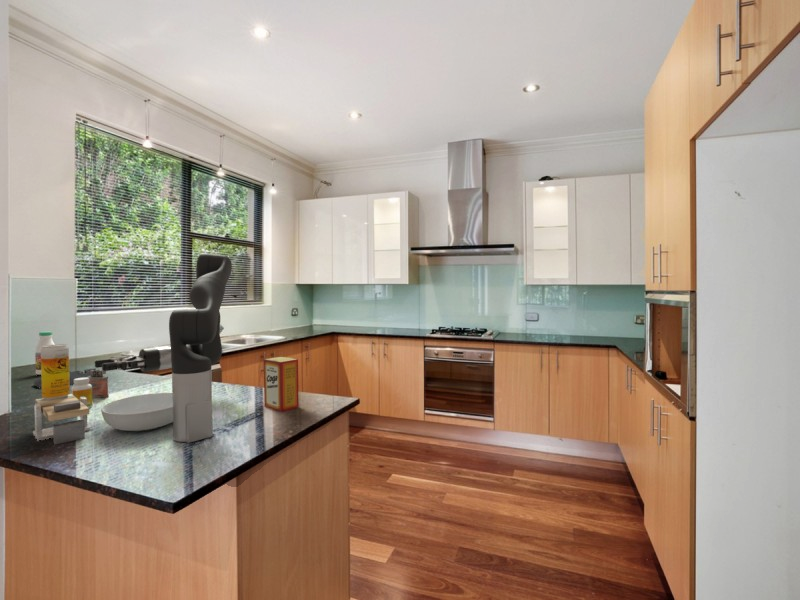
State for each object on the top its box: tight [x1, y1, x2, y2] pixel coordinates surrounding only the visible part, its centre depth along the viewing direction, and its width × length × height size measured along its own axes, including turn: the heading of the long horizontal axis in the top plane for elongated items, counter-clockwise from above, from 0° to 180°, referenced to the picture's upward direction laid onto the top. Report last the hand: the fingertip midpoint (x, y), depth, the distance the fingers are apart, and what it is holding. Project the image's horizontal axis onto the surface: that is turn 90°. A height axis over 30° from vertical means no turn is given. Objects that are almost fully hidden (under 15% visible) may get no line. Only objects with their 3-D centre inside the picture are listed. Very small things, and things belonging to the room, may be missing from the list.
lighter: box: [87, 368, 110, 399], centre depth 147 cm, size 8×3×10 cm, turn 76°
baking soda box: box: [263, 356, 300, 413], centre depth 133 cm, size 10×6×16 cm
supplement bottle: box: [70, 378, 93, 409], centre depth 134 cm, size 5×5×10 cm
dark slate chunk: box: [33, 367, 97, 388], centre depth 172 cm, size 15×22×5 cm
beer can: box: [40, 343, 71, 400], centre depth 116 cm, size 6×6×15 cm
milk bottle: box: [34, 331, 56, 375], centre depth 190 cm, size 8×8×20 cm
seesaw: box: [34, 393, 90, 423], centre depth 110 cm, size 22×8×3 cm, turn 49°
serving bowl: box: [100, 392, 173, 432], centre depth 115 cm, size 21×21×7 cm
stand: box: [32, 397, 91, 445], centre depth 108 cm, size 14×11×8 cm
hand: (98, 365), depth 123 cm, fingers open, 8 cm apart
